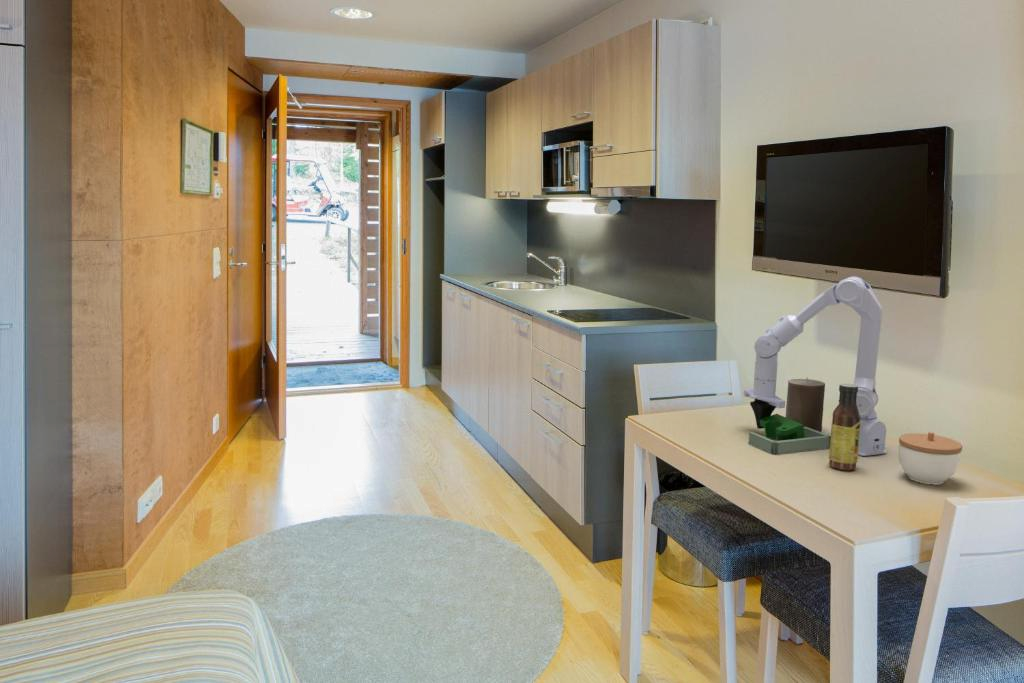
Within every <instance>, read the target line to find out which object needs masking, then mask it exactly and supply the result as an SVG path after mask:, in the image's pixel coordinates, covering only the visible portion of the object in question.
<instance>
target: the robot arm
mask: <svg viewBox="0 0 1024 683" xmlns="http://www.w3.org/2000/svg"><path fill="white" fill-rule="evenodd" d="M841 303H842V304H844V305H845V306H849V308H852V309H853V310H854V311H855V312H856V313H857V314H858V315H859V316H860V327H859V335H858V336H859V337H858V343H857V353H856V354H857V355H856V364H855V375H854V380H853V385H857V386H858V392H857V398H856V402H857V403H856V404H857V408H858V411H859V415H860V419H861V423H860V437H859V448H858V456H862V457H868V456H873V455H874V456H875V455H883V454H884V455H885V454H887V453H888V452H887V451H886V450H885V448H886V436H887V427H886V424H885V423H884V422H882V421H880V420H879V418H878V413H877V412H876V411H875V407H876V406H877V405H878V402H879V395H878V393H877V390H876V386H877V383H876V375H877V368H878V367H877V366H878V365H877V364H878V355H879V347H880V339H881V338H880V337H881V329H882V328H881V327H882V320H883V319H882V318H883V307H882V304H881V303H880V302H879V299H878V298H877V295H876V294H875V293H874V291H873V288H872V287H871V285H870V284H869V283H868V282H866V281H865V280H864V279H862V278H861V277H860V276H855V275H854V276H849V277H847V278H844V279H842V280H840V281H839V282H838V283H836V284H834V285H833V286H831V287H829V288H828V289H826V290H824V291H822V292H821V293H820V294H819V295H817V297H815V298H814V299H813V300H812V301H811V302H810V303H809V304H807V305H806V306H805V307H803V309H801V310H800V311H799V312H797V314H796V315H794V314H788V315H786V316H781V317H780V318H779V319H778V320H779V321H778V322H777V323H776V324H775V325H774V326H773V327H772V328H767V329H766V330H765V333H766V334H763V335H760V336H758V338H757V339H756V341H755V342H754V348H753V349H754V351H755V354H756V355H755V362H754V375H753V376H754V377H753V388H752V389H751V388H745V389H743V397H748V398H750V399H754V400H753V401H750V402H749V405H750V406H751V409H752V411H753V414H754V417H755V418H754V419H755V423H756V424H755V425H756V428H757V429H760V430H762V429H765V428H764V427H762V426H760V419H762V418H765V417H768V416H771V415H773V412H774V411H775V409H786V400H783V399H782V398H780V397H779V396H778V395H776V390H777V375H778V364H779V363H778V356H779V354H778V353H779V352H780V351H781V349H782V348H783V347H785V346H787V345H788V344H789V343H790V342H792V341H793V340H794V339H795V338H797V337H798V336H799V335H801V334H802V333H803V332H804V326H805V324H806V323H808V322H809V321H810V320H812V319H813V318H814V317H815V316H817V315H818V314H819V313H821V312H822V311H823V310H825V309H826V308H827V307H828V306H829V307H830V306H834V305H839V304H841Z"/></svg>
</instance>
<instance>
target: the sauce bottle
mask: <svg viewBox="0 0 1024 683" xmlns="http://www.w3.org/2000/svg"><path fill="white" fill-rule="evenodd" d="M853 384H854V383H853ZM853 384H850V383H840V384H839V388H838V390H839V396H838V397H839V399H838V404H837V406H835V408H834V410H833V412H832V421H831V422H832V423H831V427H830V436H831V438H830V448H829V452H828V454H829V455H828V460H829V463H828V464H829V466H830V467H831V468H833V469H836V470H841V471H851V470H852V471H853V470H855V469H856V468H857V463H858V460H859V459H858V458H859V457H858V456H859V454H858V448H859V437H860V423H861V419H860V415H859V411H858V408H857V404H856V403H857V402H856V398H857V392H858V386H857V385H853Z"/></svg>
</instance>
